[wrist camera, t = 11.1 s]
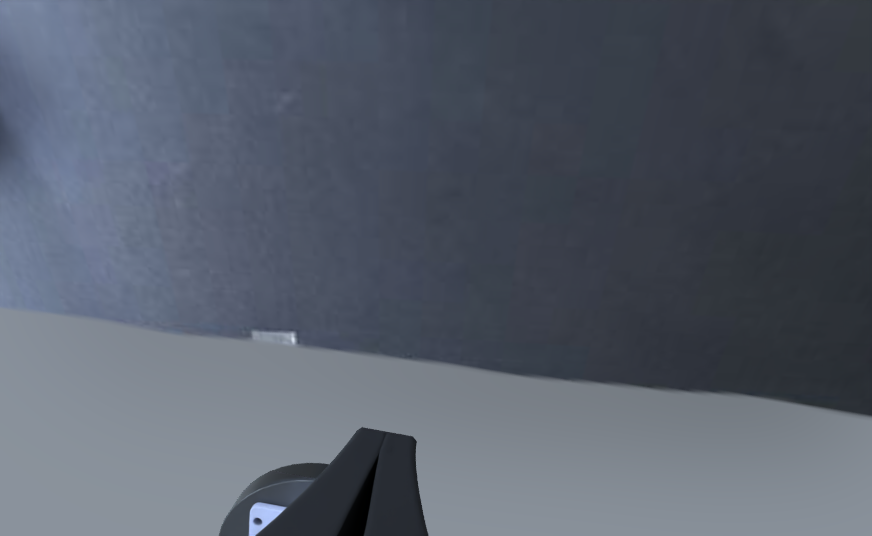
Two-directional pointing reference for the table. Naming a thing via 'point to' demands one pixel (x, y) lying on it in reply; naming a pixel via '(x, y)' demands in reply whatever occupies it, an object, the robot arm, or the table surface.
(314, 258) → the table surface
